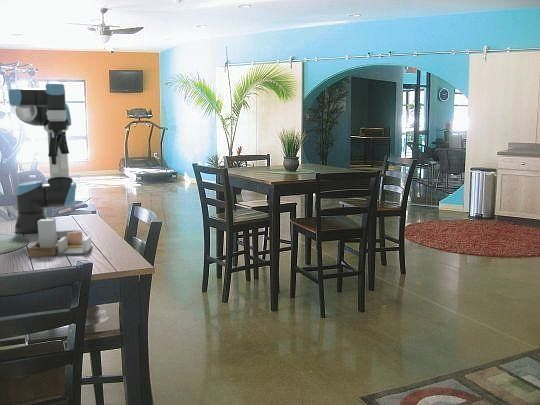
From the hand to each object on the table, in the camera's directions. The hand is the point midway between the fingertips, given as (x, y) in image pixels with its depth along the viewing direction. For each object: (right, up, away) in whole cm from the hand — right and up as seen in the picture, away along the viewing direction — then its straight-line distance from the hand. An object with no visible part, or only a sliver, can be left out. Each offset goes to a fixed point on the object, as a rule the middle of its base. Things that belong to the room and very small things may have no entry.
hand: (60, 170), depth 238 cm
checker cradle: (+11, -34, -13) cm, 38 cm away
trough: (0, -34, -12) cm, 36 cm away
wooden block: (+8, -32, -4) cm, 34 cm away
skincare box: (0, -33, -13) cm, 35 cm away
